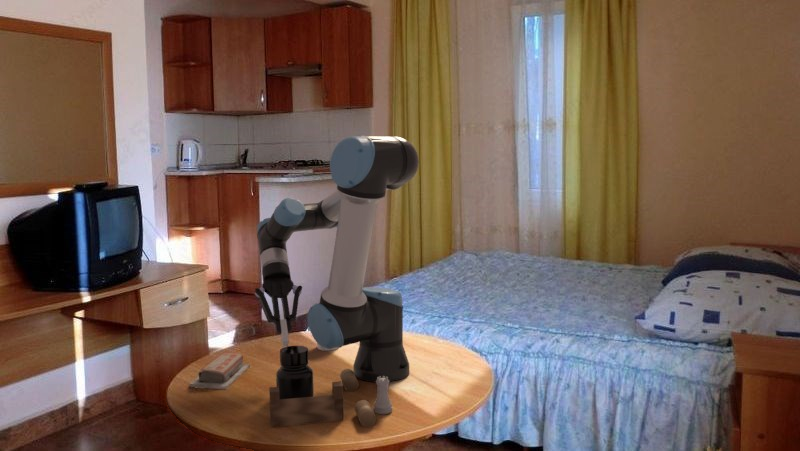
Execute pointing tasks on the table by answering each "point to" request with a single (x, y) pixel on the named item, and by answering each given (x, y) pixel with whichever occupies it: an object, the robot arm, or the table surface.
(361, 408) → the roller
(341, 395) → the rail
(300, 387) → the ink bottle
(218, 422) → the table surface
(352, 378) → the roller
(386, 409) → the rook chess piece
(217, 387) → the packaged product
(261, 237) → the robot arm
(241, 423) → the table surface
